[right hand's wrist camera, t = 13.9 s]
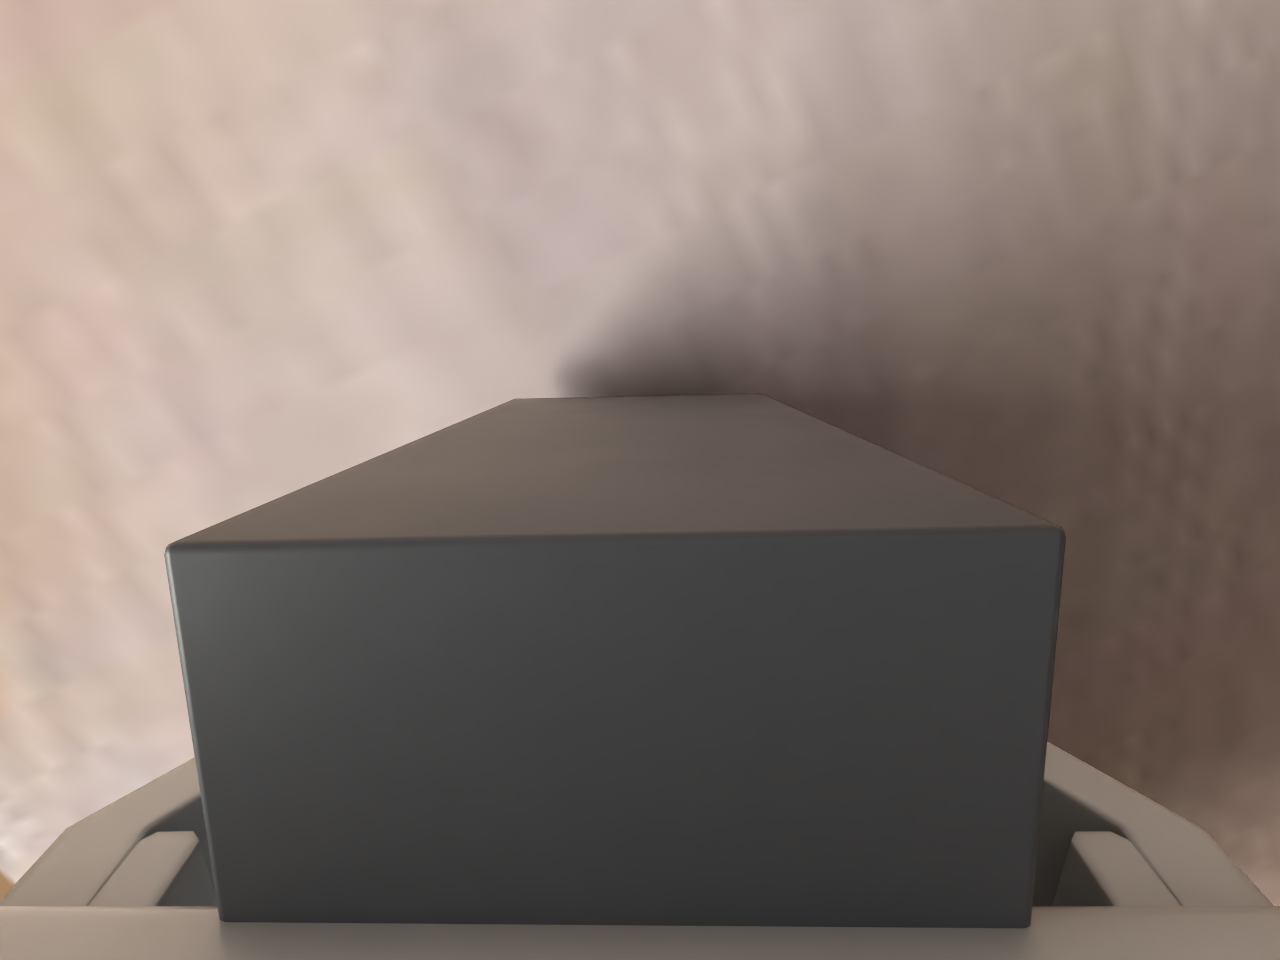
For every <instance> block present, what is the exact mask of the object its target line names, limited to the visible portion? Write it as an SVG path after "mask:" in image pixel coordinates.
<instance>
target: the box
mask: <svg viewBox="0 0 1280 960" xmlns="http://www.w3.org/2000/svg"><path fill="white" fill-rule="evenodd" d="M1065 539H1066V538H1065V534H1064V530H1063V529H1062V528H1061V527H1059V526H1057V525H1055V524H1053V523H1050V522H1048V521H1046V520H1044V519H1041V518H1039V517H1037V516H1035V515H1032V514H1030V513H1028V512H1026V511H1023V510H1021V509H1019V508H1017V507H1014V506H1012V505H1010V504H1008V503H1005V502H1003V501H1001V500H999V499H996V498H994V497H992V496H990V495H987V494H985V493H983V492H981V491H978V490H976V489H974V488H972V487H969V486H967V485H965V484H963V483H960V482H958V481H956V480H954V479H951V478H949V477H947V476H945V475H942V474H940V473H938V472H936V471H933V470H931V469H929V468H927V467H924V466H922V465H920V464H918V463H915V462H913V461H911V460H909V459H906V458H904V457H902V456H900V455H897V454H895V453H893V452H891V451H888V450H886V449H884V448H882V447H879V446H877V445H875V444H873V443H870V442H868V441H866V440H864V439H861V438H859V437H857V436H855V435H853V434H850V433H848V432H846V431H844V430H841V429H839V428H837V427H835V426H832V425H830V424H828V423H826V422H823V421H821V420H819V419H817V418H814V417H812V416H810V415H808V414H805V413H803V412H801V411H799V410H796V409H794V408H792V407H790V406H787V405H785V404H783V403H781V402H778V401H776V400H774V399H772V398H769V397H767V396H765V395H763V394H719V395H673V396H627V397H581V398H535V399H513V400H511V401H508V402H506V403H504V404H501V405H499V406H497V407H494V408H492V409H489V410H487V411H485V412H482V413H480V414H478V415H475V416H473V417H470V418H468V419H466V420H463V421H461V422H458V423H456V424H454V425H451V426H449V427H447V428H444V429H442V430H439V431H437V432H435V433H432V434H430V435H428V436H425V437H423V438H420V439H418V440H416V441H413V442H411V443H409V444H406V445H404V446H401V447H399V448H397V449H394V450H392V451H389V452H387V453H385V454H382V455H380V456H378V457H375V458H373V459H370V460H368V461H366V462H363V463H361V464H359V465H356V466H354V467H351V468H349V469H347V470H344V471H342V472H339V473H337V474H335V475H332V476H330V477H328V478H325V479H323V480H320V481H318V482H316V483H313V484H311V485H309V486H306V487H304V488H301V489H299V490H297V491H294V492H292V493H289V494H287V495H285V496H282V497H280V498H278V499H275V500H273V501H270V502H268V503H266V504H263V505H261V506H259V507H256V508H254V509H251V510H249V511H247V512H244V513H242V514H240V515H237V516H235V517H232V518H230V519H228V520H225V521H223V522H220V523H218V524H216V525H213V526H211V527H209V528H206V529H204V530H201V531H199V532H197V533H194V534H192V535H190V536H187V537H185V538H182V539H180V540H178V541H175V542H173V543H171V544H169V545H168V546H167V547H166V550H165V562H166V568H167V575H168V582H169V588H170V595H171V602H172V608H173V615H174V621H175V628H176V635H177V641H178V648H179V655H180V661H181V668H182V674H183V681H184V688H185V694H186V701H187V708H188V714H189V721H190V727H191V734H192V741H193V747H194V754H195V761H196V767H197V774H198V781H199V787H200V794H201V800H202V807H203V814H204V820H205V827H206V834H207V840H208V847H209V853H210V860H211V867H212V873H213V880H214V887H215V893H216V900H217V906H218V913H219V920H221V921H224V922H268V923H395V924H521V925H648V926H775V927H901V928H1027V927H1029V926H1030V925H1031V914H1032V903H1033V892H1034V881H1035V870H1036V859H1037V848H1038V837H1039V826H1040V815H1041V804H1042V793H1043V782H1044V771H1045V760H1046V749H1047V738H1048V727H1049V716H1050V705H1051V694H1052V683H1053V672H1054V661H1055V650H1056V639H1057V628H1058V617H1059V606H1060V595H1061V584H1062V573H1063V561H1064V550H1065Z"/></svg>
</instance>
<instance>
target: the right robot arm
mask: <svg viewBox="0 0 1280 960" xmlns="http://www.w3.org/2000/svg"><path fill="white" fill-rule="evenodd" d="M0 960H1280V906H1273V905H1272V904H1271V902H1270V901H1269V900H1268V899H1267V898H1266V897H1265V896H1264V895H1263V894H1262V892H1261V891H1260V890H1259V889H1258V888H1257V887H1256V886H1255V885H1254V884H1253V882H1252V881H1251V880H1250V879H1249V878H1248V877H1247V876H1246V875H1245V874H1244V872H1243V871H1242V870H1241V869H1240V868H1239V867H1238V866H1237V865H1236V864H1235V862H1234V861H1233V860H1232V859H1231V858H1230V857H1229V856H1228V855H1227V854H1226V852H1225V851H1224V850H1223V849H1222V848H1221V847H1220V846H1219V845H1218V844H1217V842H1216V841H1215V840H1214V839H1213V838H1212V837H1211V836H1210V835H1209V834H1208V832H1207V831H1206V830H1205V829H1203V828H1201V827H1199V826H1198V825H1196V824H1194V823H1192V822H1191V821H1189V820H1187V819H1185V818H1183V817H1182V816H1180V815H1178V814H1176V813H1174V812H1173V811H1171V810H1169V809H1167V808H1166V807H1164V806H1162V805H1160V804H1158V803H1157V802H1155V801H1153V800H1151V799H1149V798H1148V797H1146V796H1144V795H1142V794H1141V793H1139V792H1137V791H1135V790H1133V789H1132V788H1130V787H1128V786H1126V785H1124V784H1123V783H1121V782H1119V781H1117V780H1115V779H1114V778H1112V777H1110V776H1108V775H1107V774H1105V773H1103V772H1101V771H1099V770H1098V769H1096V768H1094V767H1092V766H1090V765H1089V764H1087V763H1085V762H1083V761H1082V760H1080V759H1078V758H1076V757H1074V756H1073V755H1071V754H1069V753H1067V752H1065V751H1064V750H1062V749H1060V748H1058V747H1057V746H1055V745H1053V744H1051V743H1049V742H1048V741H1047V749H1046V760H1045V771H1044V782H1043V793H1042V804H1041V815H1040V826H1039V837H1038V848H1037V859H1036V870H1035V881H1034V892H1033V903H1032V914H1031V925H1030V926H1029V927H1027V928H901V927H775V926H648V925H521V924H395V923H268V922H224V921H221V920H219V913H218V906H217V900H216V893H215V887H214V880H213V873H212V867H211V860H210V853H209V847H208V840H207V834H206V827H205V820H204V814H203V807H202V800H201V794H200V787H199V781H198V774H197V767H196V761H195V758H193V759H191V760H190V761H188V762H186V763H184V764H182V765H180V766H179V767H177V768H175V769H173V770H171V771H170V772H168V773H166V774H164V775H162V776H161V777H159V778H157V779H155V780H153V781H151V782H150V783H148V784H146V785H144V786H142V787H141V788H139V789H137V790H135V791H133V792H132V793H130V794H128V795H126V796H124V797H123V798H121V799H119V800H117V801H115V802H113V803H112V804H110V805H108V806H106V807H104V808H103V809H101V810H99V811H97V812H95V813H94V814H92V815H90V816H88V817H86V818H84V819H83V820H81V821H79V822H77V823H75V824H74V825H72V826H70V827H68V828H67V829H66V830H65V831H64V832H63V833H62V834H61V835H60V836H59V837H58V838H57V839H56V840H55V842H54V843H53V844H52V845H51V846H50V847H49V848H48V849H47V850H46V851H45V852H44V854H43V855H42V856H41V857H40V858H39V859H38V860H37V861H36V862H35V863H34V864H33V865H32V867H31V868H30V869H29V870H28V871H27V872H26V873H25V874H24V875H23V876H22V877H21V878H20V880H19V881H18V882H17V883H16V884H15V885H14V886H13V887H12V888H11V889H10V890H9V891H8V893H7V894H6V895H5V896H4V897H3V898H2V899H1V900H0Z"/></svg>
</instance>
